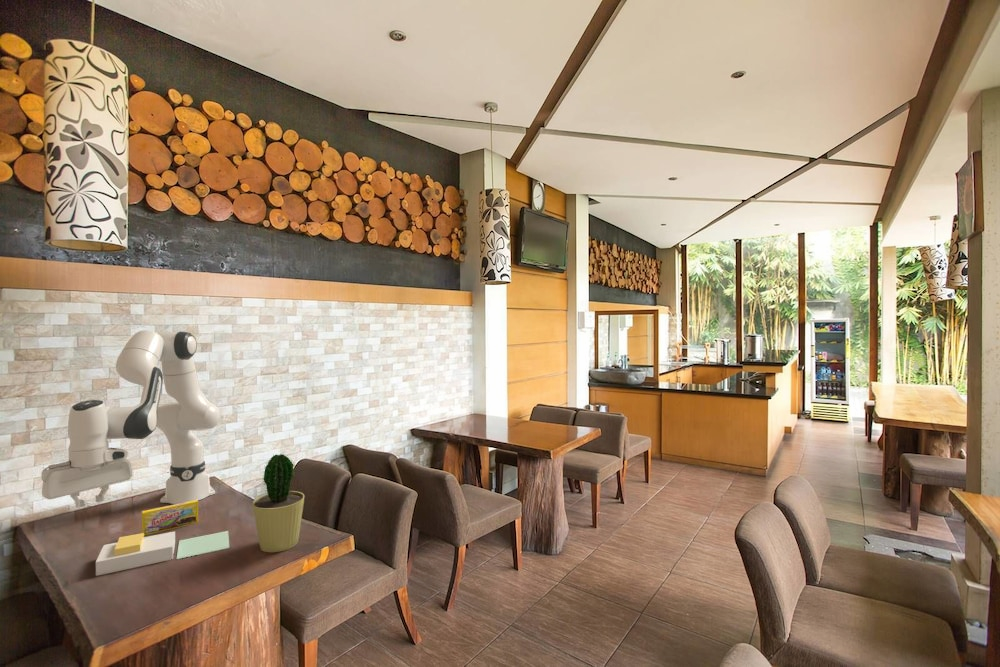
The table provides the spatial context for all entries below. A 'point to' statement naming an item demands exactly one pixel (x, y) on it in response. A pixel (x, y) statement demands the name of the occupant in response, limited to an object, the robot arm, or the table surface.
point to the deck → (137, 554)
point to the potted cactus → (278, 507)
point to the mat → (203, 544)
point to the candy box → (169, 517)
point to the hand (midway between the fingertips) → (90, 504)
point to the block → (129, 544)
